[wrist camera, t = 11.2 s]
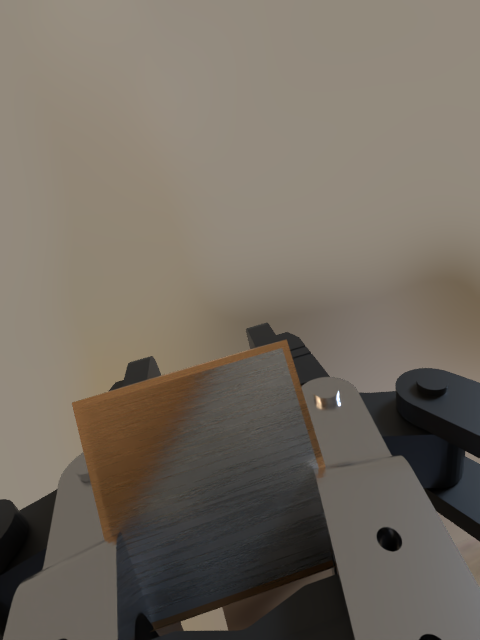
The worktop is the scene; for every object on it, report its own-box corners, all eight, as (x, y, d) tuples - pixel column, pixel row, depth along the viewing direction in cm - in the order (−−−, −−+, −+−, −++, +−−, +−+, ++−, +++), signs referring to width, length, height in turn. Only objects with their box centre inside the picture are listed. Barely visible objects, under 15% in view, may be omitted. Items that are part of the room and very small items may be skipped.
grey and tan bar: (246, 388, 28) (236, 352, 29) (354, 559, 5) (286, 339, 5) (210, 398, 28) (200, 363, 28) (127, 639, 4) (72, 402, 5)
